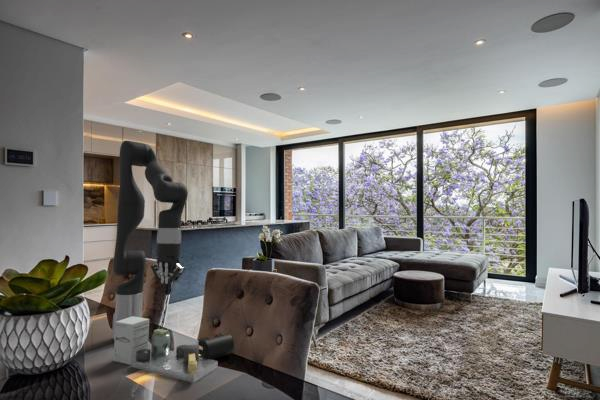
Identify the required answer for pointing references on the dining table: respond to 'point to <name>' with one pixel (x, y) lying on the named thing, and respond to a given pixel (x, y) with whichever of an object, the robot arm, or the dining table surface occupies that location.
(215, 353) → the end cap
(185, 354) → the level knob
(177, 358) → the grey flat block
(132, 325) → the supplement box
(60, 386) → the dining table surface
